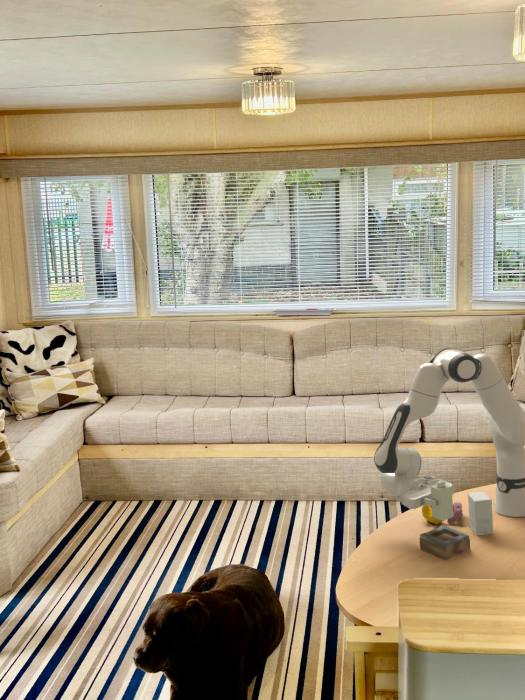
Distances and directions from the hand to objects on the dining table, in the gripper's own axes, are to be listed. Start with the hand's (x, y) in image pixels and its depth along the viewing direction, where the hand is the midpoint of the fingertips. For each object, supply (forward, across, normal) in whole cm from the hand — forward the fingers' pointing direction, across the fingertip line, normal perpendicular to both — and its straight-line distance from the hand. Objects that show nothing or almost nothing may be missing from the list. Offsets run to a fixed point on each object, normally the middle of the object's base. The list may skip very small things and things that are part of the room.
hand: (443, 500), depth 261 cm
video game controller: (-17, +21, +18) cm, 32 cm away
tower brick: (-1, 0, +6) cm, 6 cm away
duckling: (-19, +13, +18) cm, 29 cm away
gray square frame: (-1, 0, +18) cm, 18 cm away
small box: (-3, +20, +18) cm, 27 cm away
